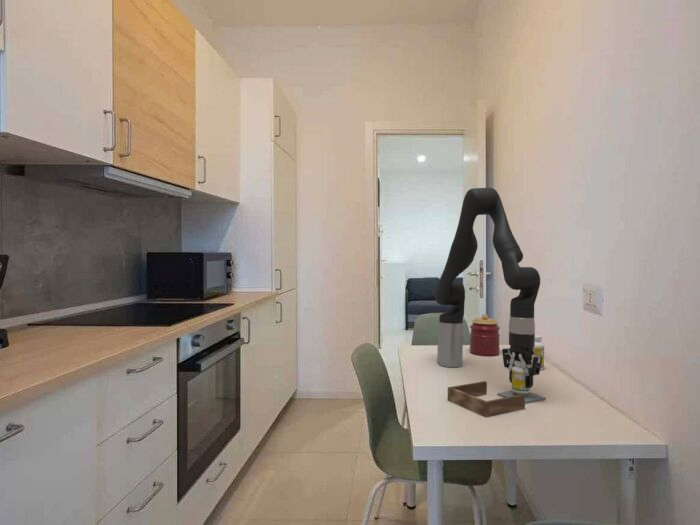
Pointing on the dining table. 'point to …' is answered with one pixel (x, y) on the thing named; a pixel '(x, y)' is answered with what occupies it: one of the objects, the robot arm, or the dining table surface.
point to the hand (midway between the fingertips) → (520, 384)
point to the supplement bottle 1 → (519, 378)
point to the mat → (528, 396)
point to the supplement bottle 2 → (539, 349)
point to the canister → (484, 337)
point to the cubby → (467, 399)
